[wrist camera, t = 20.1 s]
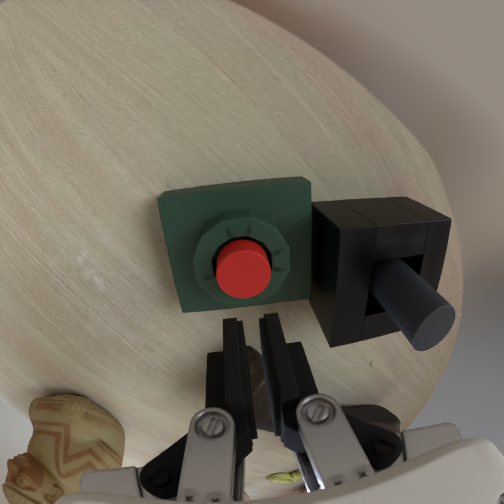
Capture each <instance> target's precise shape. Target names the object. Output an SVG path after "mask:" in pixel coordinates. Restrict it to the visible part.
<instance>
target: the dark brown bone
mask: <svg viewBox="0 0 504 504" xmlns="http://www.w3.org/2000/svg"><path fill="white" fill-rule="evenodd" d="M246 350H247V357H248V364H249V372H250V381H251V389H252V397H253V405H254V413H255V421H256V429H260V430H265V431H269V432H274V427H273V421H272V416H271V410H270V404H269V398H268V392H267V387H266V381H265V375H264V369H263V360H262V355H261V354H260V353H259V352H257V351H256V350H255V349H254V348H252V347H251V346H246ZM341 409H342V411H343V413H345V414H347V415H350V416H352V417H355V418H357V419H360V420H362V421H365V422H367V423H370V424H373V425H375V426H378V427H381V428H384V429H386V430H389V431H392V432H394V433H400V420H399V419H398V418H397V416H395V415H394V414H393V413H391V412H389V410H387V409H385V408H383V407H381V406H378V405H369V406H363V407H355V408H345V407H341Z"/></svg>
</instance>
